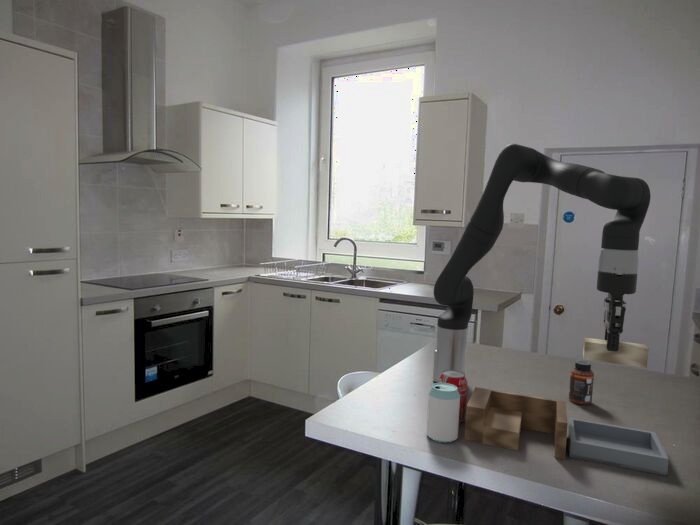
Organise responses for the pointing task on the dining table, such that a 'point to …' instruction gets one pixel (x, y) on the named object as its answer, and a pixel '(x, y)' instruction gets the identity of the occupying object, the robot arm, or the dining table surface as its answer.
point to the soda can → (461, 383)
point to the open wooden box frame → (514, 418)
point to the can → (443, 412)
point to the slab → (615, 353)
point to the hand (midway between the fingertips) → (610, 347)
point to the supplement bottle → (581, 383)
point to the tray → (616, 446)
